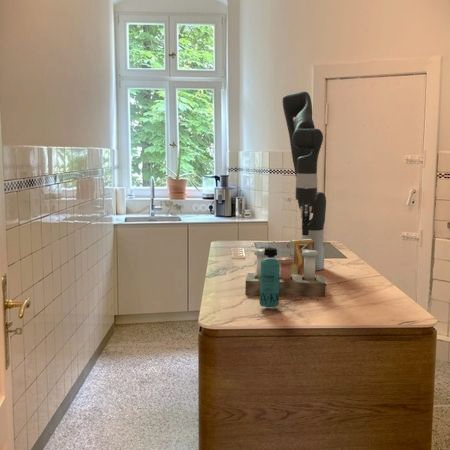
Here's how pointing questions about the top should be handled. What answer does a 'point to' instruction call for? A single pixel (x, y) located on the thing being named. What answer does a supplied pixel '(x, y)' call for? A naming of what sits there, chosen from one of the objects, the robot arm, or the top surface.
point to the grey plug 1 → (259, 260)
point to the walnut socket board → (291, 286)
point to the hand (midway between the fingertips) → (305, 234)
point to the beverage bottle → (269, 279)
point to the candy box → (299, 254)
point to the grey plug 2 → (309, 264)
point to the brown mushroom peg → (285, 267)
